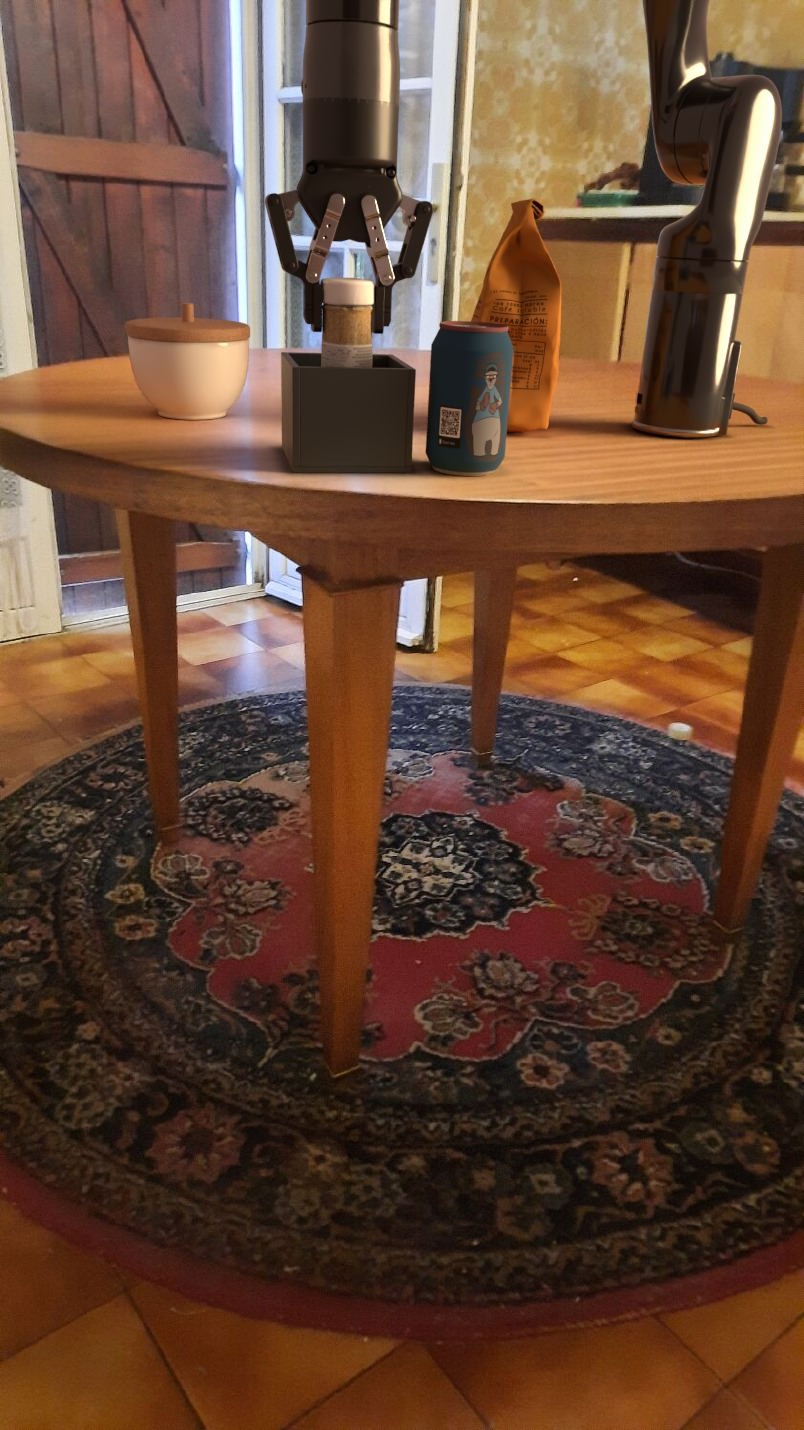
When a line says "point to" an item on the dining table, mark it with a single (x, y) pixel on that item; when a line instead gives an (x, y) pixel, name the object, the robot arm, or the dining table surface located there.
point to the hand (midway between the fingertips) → (347, 331)
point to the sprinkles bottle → (347, 322)
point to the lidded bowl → (189, 363)
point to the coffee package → (525, 315)
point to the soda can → (469, 397)
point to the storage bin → (347, 415)
